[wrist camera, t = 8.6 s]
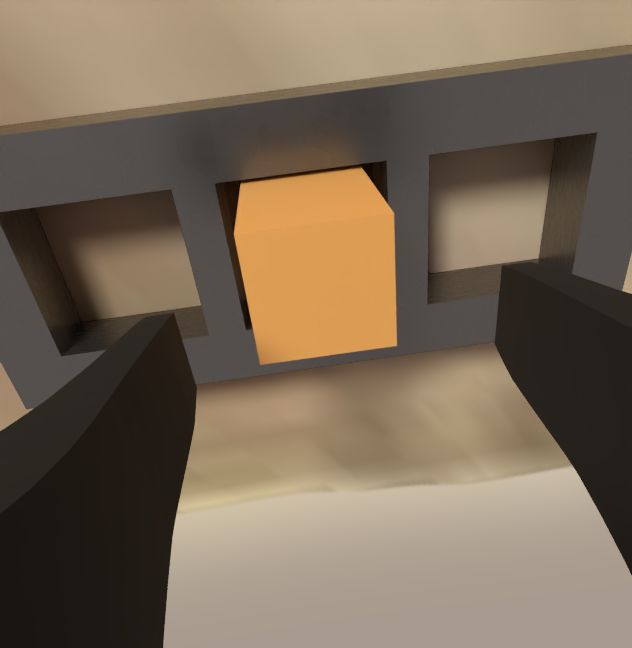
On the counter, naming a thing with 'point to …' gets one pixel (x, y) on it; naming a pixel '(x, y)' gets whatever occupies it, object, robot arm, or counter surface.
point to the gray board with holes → (306, 155)
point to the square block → (317, 263)
